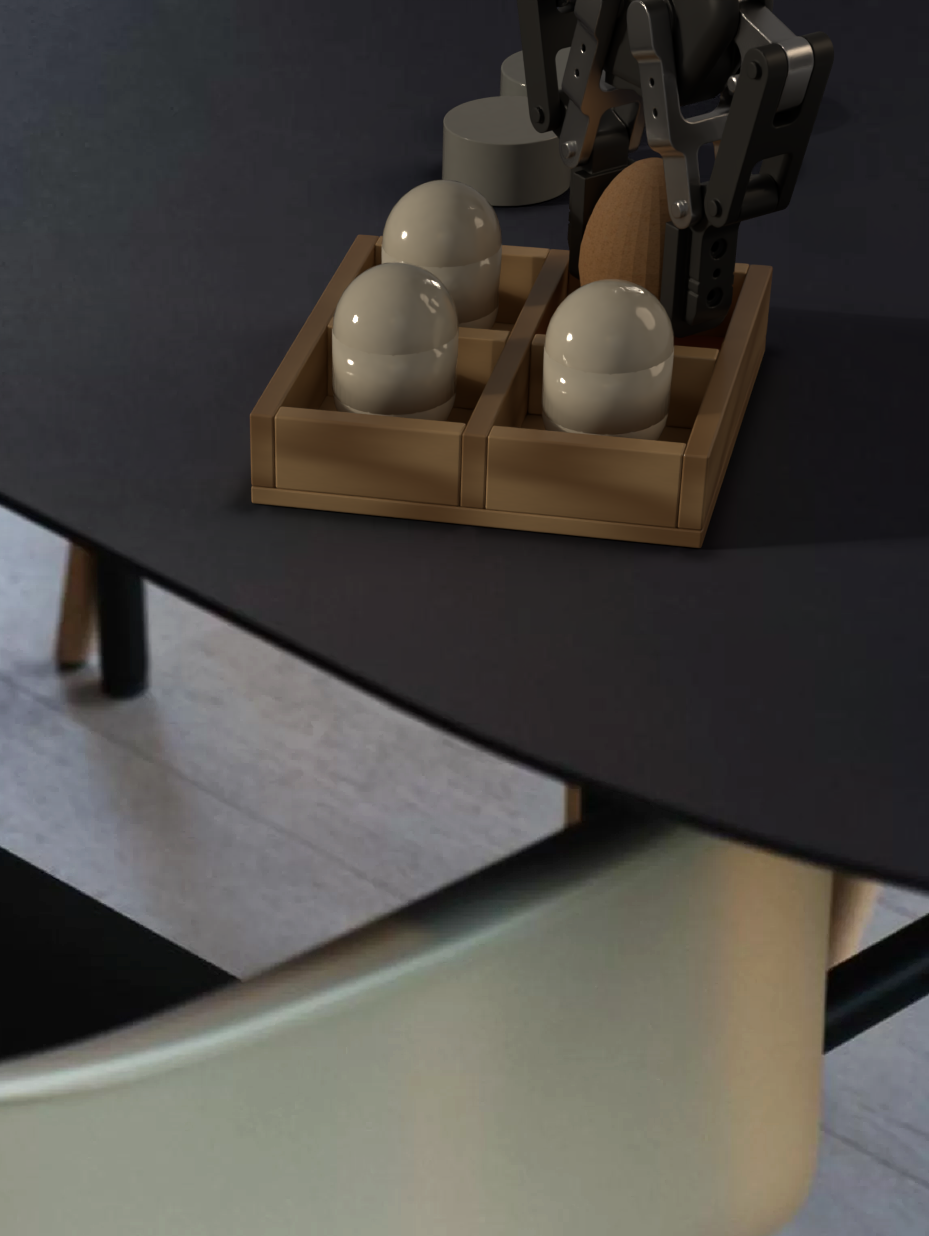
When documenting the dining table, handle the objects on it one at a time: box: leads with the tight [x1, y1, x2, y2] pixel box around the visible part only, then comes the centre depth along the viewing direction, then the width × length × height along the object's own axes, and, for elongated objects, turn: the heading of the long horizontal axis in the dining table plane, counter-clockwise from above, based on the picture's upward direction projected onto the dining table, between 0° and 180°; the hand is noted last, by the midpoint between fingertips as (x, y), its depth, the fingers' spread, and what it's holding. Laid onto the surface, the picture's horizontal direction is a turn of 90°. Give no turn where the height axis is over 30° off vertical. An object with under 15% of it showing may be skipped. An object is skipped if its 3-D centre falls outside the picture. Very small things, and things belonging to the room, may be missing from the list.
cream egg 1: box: [381, 179, 503, 330], centre depth 98 cm, size 4×4×6 cm
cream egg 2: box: [332, 262, 459, 421], centre depth 93 cm, size 4×4×6 cm
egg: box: [578, 157, 672, 301], centre depth 95 cm, size 4×4×6 cm
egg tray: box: [249, 234, 774, 549], centre depth 96 cm, size 14×14×3 cm
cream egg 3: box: [541, 279, 674, 441], centre depth 91 cm, size 4×4×6 cm
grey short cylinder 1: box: [499, 47, 614, 111], centre depth 116 cm, size 5×5×2 cm
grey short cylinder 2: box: [441, 95, 571, 207], centre depth 112 cm, size 5×5×2 cm
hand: (645, 299), depth 96 cm, fingers closed on egg, 4 cm apart
